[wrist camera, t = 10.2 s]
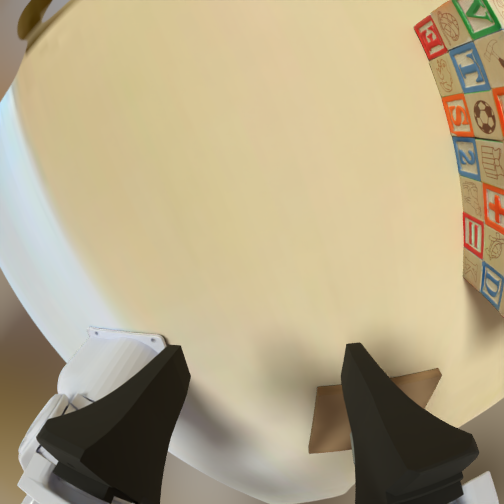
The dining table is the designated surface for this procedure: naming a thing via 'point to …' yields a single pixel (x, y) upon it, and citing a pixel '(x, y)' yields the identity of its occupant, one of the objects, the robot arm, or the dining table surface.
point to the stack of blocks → (474, 126)
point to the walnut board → (335, 414)
